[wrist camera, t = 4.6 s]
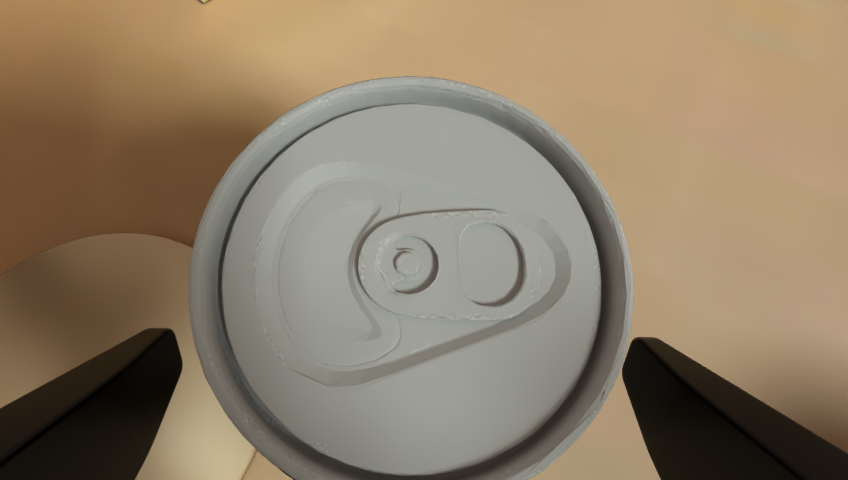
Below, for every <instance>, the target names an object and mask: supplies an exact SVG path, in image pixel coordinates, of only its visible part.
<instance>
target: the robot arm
mask: <svg viewBox="0 0 848 480" xmlns="http://www.w3.org/2000/svg"><path fill="white" fill-rule="evenodd" d="M182 367H183V361H182V357H181V353H180V350H179V346H178V342H177V339H176V335H175V333H174V331H173V330H172V329H170V328H147V329H145V330H143V331H141V332H139V333H138V334H136V335H134V336H132V337H130V338H128V339H127V340H125V341H123V342H121V343H119V344H117V345H116V346H114V347H112V348H110V349H108V350H106V351H104V352H103V353H101V354H99V355H97V356H95V357H93V358H92V359H90V360H88V361H86V362H84V363H82V364H81V365H79V366H77V367H75V368H73V369H71V370H69V371H68V372H66V373H64V374H62V375H60V376H58V377H57V378H55V379H53V380H51V381H49V382H47V383H46V384H44V385H42V386H40V387H38V388H36V389H34V390H33V391H31V392H29V393H27V394H25V395H23V396H22V397H20V398H18V399H16V400H14V401H12V402H11V403H9V404H7V405H5V406H3V407H1V408H0V480H135V479H136V477H137V475H138V473H139V471H140V469H141V467H142V466H143V464H144V462H145V460H146V458H147V456H148V454H149V452H150V449H151V447H152V445H153V443H154V440H155V438H156V436H157V433H158V430H159V428H160V425H161V423H162V420H163V418H164V415H165V413H166V410H167V408H168V405H169V403H170V400H171V398H172V395H173V393H174V390H175V388H176V385H177V383H178V380H179V378H180V375H181V372H182ZM622 377H623V381H624V384H625V387H626V390H627V393H628V396H629V398H630V401H631V404H632V407H633V410H634V413H635V416H636V419H637V421H638V424H639V427H640V430H641V433H642V436H643V439H644V441H645V444H646V447H647V449H648V452H649V454H650V456H651V459H652V461H653V463H654V466H655V468H656V470H657V472H658V474H659V476H660V479H661V480H848V453H846V452H844V451H843V450H841V449H840V448H838V447H836V446H835V445H833V444H831V443H830V442H828V441H826V440H825V439H823V438H821V437H820V436H818V435H816V434H815V433H813V432H811V431H810V430H808V429H806V428H805V427H803V426H802V425H800V424H798V423H797V422H795V421H793V420H792V419H790V418H788V417H787V416H785V415H783V414H782V413H780V412H778V411H777V410H775V409H773V408H772V407H770V406H768V405H767V404H765V403H763V402H762V401H760V400H759V399H757V398H755V397H754V396H752V395H750V394H749V393H747V392H745V391H744V390H742V389H740V388H739V387H737V386H735V385H734V384H732V383H730V382H729V381H727V380H725V379H724V378H722V377H720V376H719V375H717V374H716V373H714V372H712V371H711V370H709V369H707V368H706V367H704V366H702V365H701V364H699V363H697V362H696V361H694V360H692V359H691V358H689V357H687V356H686V355H684V354H683V353H681V352H679V351H678V350H676V349H674V348H673V347H671V346H669V345H668V344H666V343H664V342H663V341H661V340H659V339H657V338H654V337H637V338H634V339H633V340H632V342H631V344H630V347H629V350H628V353H627V356H626V359H625V362H624V364H623V368H622Z"/></svg>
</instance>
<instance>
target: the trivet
mask: <svg viewBox="0 0 848 480" xmlns="http://www.w3.org/2000/svg"><path fill="white" fill-rule="evenodd" d="M192 249H193V248H191V247H189V246H187V245H185V244H183V243H180V242H176V241H173V240H170V239H167V238H164V237H158V236H153V235H147V234H135V233H116V234H102V235H97V236H91V237H85V238H81V239H77V240H74V241H70V242H67V243H63V244H60V245H58V246H55V247H53V248H50V249H48V250H45V251H43V252H40V253H38V254H36V255H34V256H33V257H31V258H29V259H27V260H25V261H23V262H21V263H19V264H18V265H16V266H14V267H13V268H11V269H10V270H8V271H7V272H5V273H4V274H2V275H1V276H0V408H1V407H3V406H5V405H7V404H9V403H11V402H12V401H14V400H16V399H18V398H20V397H22V396H23V395H25V394H27V393H29V392H31V391H33V390H34V389H36V388H38V387H40V386H42V385H44V384H46V383H47V382H49V381H51V380H53V379H55V378H57V377H58V376H60V375H62V374H64V373H66V372H68V371H69V370H71V369H73V368H75V367H77V366H79V365H81V364H82V363H84V362H86V361H88V360H90V359H92V358H93V357H95V356H97V355H99V354H101V353H103V352H104V351H106V350H108V349H110V348H112V347H114V346H116V345H117V344H119V343H121V342H123V341H125V340H127V339H128V338H130V337H132V336H134V335H136V334H138V333H139V332H141V331H143V330H145V329H147V328H170V329H172V330H173V331H174V333H175V335H176V339H177V342H178V346H179V350H180V353H181V357H182V361H183V367H182V372H181V375H180V378H179V380H178V383H177V385H176V388H175V390H174V393H173V395H172V398H171V400H170V403H169V405H168V408H167V410H166V413H165V415H164V418H163V420H162V423H161V425H160V428H159V430H158V433H157V436H156V438H155V440H154V443H153V445H152V447H151V449H150V452H149V454H148V456H147V458H146V460H145V462H144V464H143V466H142V467H141V469H140V471H139V473H138V475H137V477H136V479H135V480H242V479H243V477H244V475H245V474H246V472H247V470H248V468H249V466H250V464H251V462H252V461H253V459H254V456H255V454H256V451H257V450H256V449H255V448H254V447H253V446H252V445H251V444H250V443H249V442H248V441H247V440H246V439H245V438H244V437H243V436H242V434H241V433H240V432H239V431H238V429H237V428H236V427H235V426H234V424H233V423H232V422H231V420H230V419H229V418H228V417H227V415H226V413H225V412H224V410H223V409H222V407H221V405H220V404H219V402H218V400H217V399H216V397H215V395H214V393H213V391H212V389H211V387H210V386H209V384H208V382H207V380H206V378H205V376H204V373H203V370H202V367H201V364H200V360H199V357H198V354H197V351H196V348H195V345H194V341H193V335H192V329H191V324H190V316H189V305H188V284H189V265H190V259H191V254H192Z"/></svg>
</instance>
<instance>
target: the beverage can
mask: <svg viewBox="0 0 848 480" xmlns="http://www.w3.org/2000/svg"><path fill="white" fill-rule="evenodd" d="M188 305H189V316H190V324H191V329H192V335H193V341H194V345H195V348H196V351H197V354H198V357H199V360H200V364H201V367H202V370H203V373H204V376H205V378H206V380H207V382H208V384H209V386H210V387H211V389H212V391H213V393H214V395H215V397H216V399H217V400H218V402H219V404H220V405H221V407H222V409H223V410H224V412H225V413H226V415H227V417H228V418H229V419H230V420H231V422H232V423H233V424H234V426H235V427H236V428H237V429H238V431H239V432H240V433H241V434H242V436H243V437H244V438H245V439H246V440H247V441H248V442H249V443H250V444H251V445H252V446H253V447H254V448H255V449H256V450H257V451H259V452H260V453H261V454H262V455H263V456H264V457H265V458H266V459H268V460H269V461H270V462H271V463H272V464H274V465H275V466H276V467H278V468H279V469H280V470H281V471H282V472H284V473H285V474H286V475H288V476H289V477H291V478H292V479H294V480H527V479H529V478H531V477H532V476H534V475H536V474H538V473H539V472H541V471H543V470H544V469H546V468H547V467H548V466H549V465H550V464H551V463H552V462H554V461H555V460H556V459H557V458H558V457H559V456H560V455H561V454H563V453H564V452H565V451H566V450H567V449H568V448H569V447H570V446H571V445H572V444H573V443H574V442H575V441H576V440H577V439H578V438H579V437H580V436H581V434H582V433H583V432H584V431H585V429H586V428H587V427H588V426H589V424H590V423H591V422H592V421H593V419H594V418H595V416H596V415H597V413H598V412H599V410H600V408H601V407H602V405H603V403H604V402H605V400H606V398H607V396H608V395H609V393H610V391H611V389H612V387H613V385H614V383H615V380H616V378H617V376H618V373H619V371H620V368H621V366H622V364H623V360H624V356H625V352H626V348H627V343H628V339H629V335H630V331H631V321H632V310H633V275H632V268H631V261H630V254H629V249H628V246H627V243H626V239H625V236H624V232H623V229H622V225H621V222H620V220H619V217H618V215H617V213H616V211H615V208H614V206H613V204H612V201H611V199H610V197H609V195H608V193H607V192H606V190H605V188H604V187H603V185H602V183H601V182H600V180H599V178H598V176H597V175H596V174H595V172H594V171H593V170H592V168H591V167H590V166H589V164H588V163H587V162H586V160H585V159H584V158H583V157H582V155H581V154H580V153H579V152H578V151H577V150H576V149H575V148H574V147H573V146H572V145H571V144H570V143H569V142H568V141H567V140H566V139H565V137H563V136H562V135H561V134H560V133H559V132H557V131H556V130H555V129H554V128H553V127H551V126H550V125H549V124H548V123H546V122H545V121H544V120H543V119H542V118H540V117H539V116H537V115H536V114H534V113H532V112H531V111H529V110H528V109H526V108H525V107H523V106H521V105H519V104H517V103H515V102H513V101H511V100H509V99H507V98H505V97H503V96H500V95H498V94H495V93H493V92H490V91H488V90H485V89H482V88H480V87H477V86H473V85H469V84H465V83H461V82H457V81H454V80H447V79H440V78H433V77H415V76H404V77H388V78H378V79H372V80H367V81H361V82H356V83H352V84H349V85H346V86H342V87H339V88H336V89H333V90H330V91H328V92H325V93H323V94H321V95H318V96H316V97H314V98H312V99H310V100H308V101H306V102H304V103H302V104H300V105H298V106H296V107H294V108H293V109H291V110H290V111H288V112H286V113H285V114H283V115H282V116H280V117H279V118H278V119H277V120H275V121H274V122H273V123H272V124H270V125H269V126H268V127H267V128H265V129H264V130H263V131H262V132H260V133H259V134H258V135H257V136H256V137H255V138H254V139H253V140H252V141H251V142H250V143H249V144H248V145H247V146H246V147H245V148H244V149H243V151H242V152H241V153H240V154H239V155H238V156H237V157H236V158H235V159H234V161H233V162H232V163H231V165H230V166H229V167H228V169H227V170H226V172H225V174H224V175H223V177H222V178H221V180H220V181H219V183H218V185H217V186H216V188H215V189H214V191H213V193H212V196H211V198H210V200H209V202H208V204H207V206H206V208H205V211H204V213H203V216H202V218H201V221H200V223H199V226H198V230H197V233H196V237H195V241H194V245H193V249H192V254H191V259H190V265H189V284H188Z"/></svg>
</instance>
